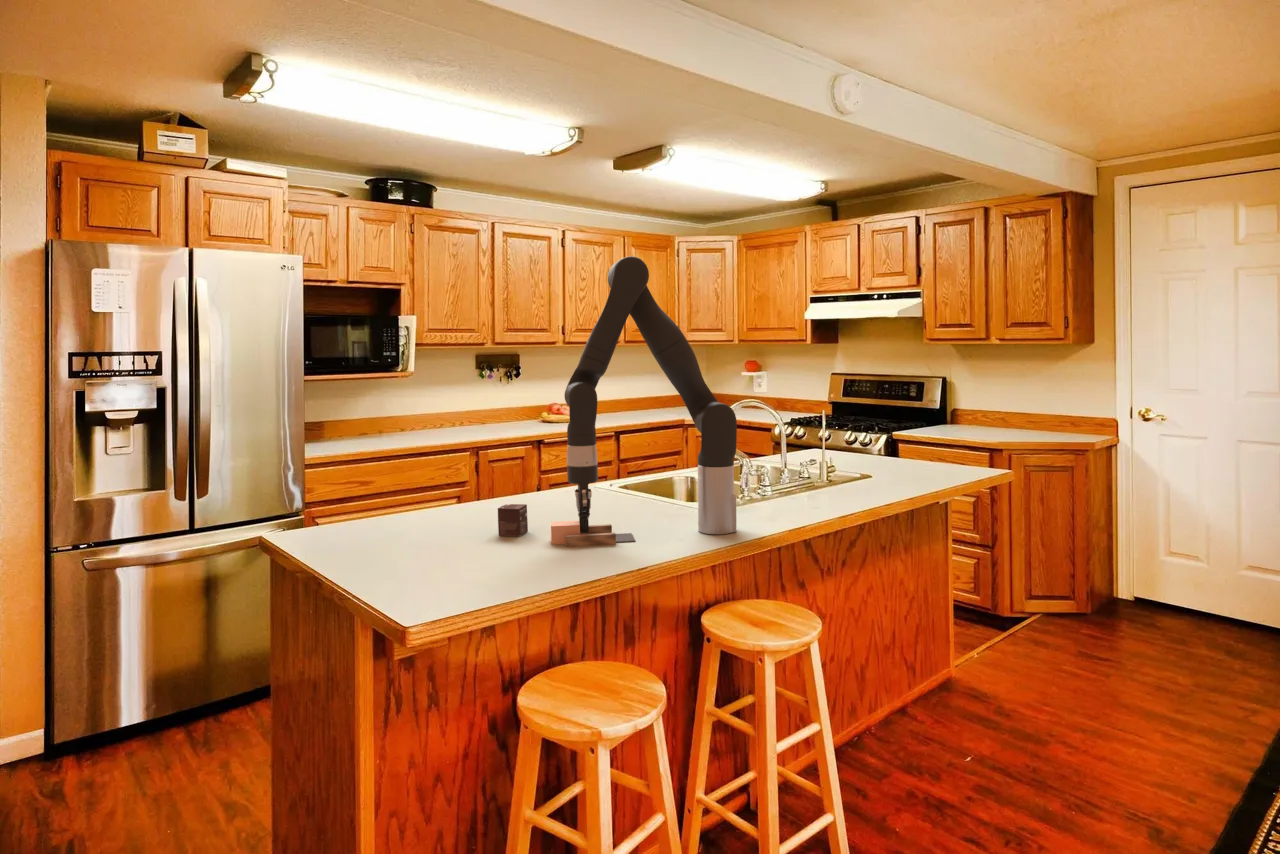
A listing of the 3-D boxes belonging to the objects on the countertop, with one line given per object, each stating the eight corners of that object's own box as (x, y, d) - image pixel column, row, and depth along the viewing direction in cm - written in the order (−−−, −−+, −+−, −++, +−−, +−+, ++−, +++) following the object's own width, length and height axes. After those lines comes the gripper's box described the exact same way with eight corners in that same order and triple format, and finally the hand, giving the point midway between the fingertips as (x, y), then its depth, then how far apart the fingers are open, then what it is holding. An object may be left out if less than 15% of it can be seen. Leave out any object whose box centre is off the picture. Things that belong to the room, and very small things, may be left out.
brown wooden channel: (611, 533, 194) (611, 524, 194) (615, 544, 183) (615, 534, 183) (564, 536, 193) (564, 526, 192) (566, 546, 182) (565, 536, 182)
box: (520, 537, 193) (519, 508, 192) (497, 536, 194) (496, 508, 193) (528, 531, 199) (527, 504, 198) (506, 531, 200) (505, 503, 199)
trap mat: (631, 534, 193) (631, 533, 193) (635, 541, 186) (635, 540, 186) (611, 535, 193) (611, 534, 193) (615, 542, 185) (615, 541, 185)
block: (579, 538, 190) (579, 520, 190) (580, 543, 185) (579, 525, 185) (551, 539, 189) (550, 521, 189) (551, 544, 184) (550, 526, 184)
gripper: (599, 466, 180) (601, 537, 182) (595, 458, 193) (597, 525, 195) (568, 467, 179) (570, 539, 181) (565, 459, 192) (567, 527, 194)
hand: (584, 532), depth 188 cm, fingers closed
